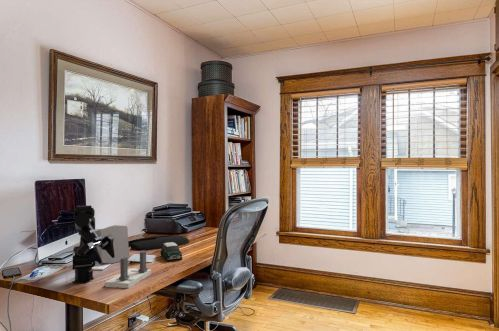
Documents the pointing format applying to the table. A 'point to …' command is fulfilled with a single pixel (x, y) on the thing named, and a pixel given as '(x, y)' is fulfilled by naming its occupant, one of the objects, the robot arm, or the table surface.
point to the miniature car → (171, 251)
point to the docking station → (156, 242)
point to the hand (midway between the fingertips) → (107, 260)
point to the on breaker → (143, 262)
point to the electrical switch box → (115, 243)
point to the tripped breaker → (124, 269)
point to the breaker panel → (133, 279)
